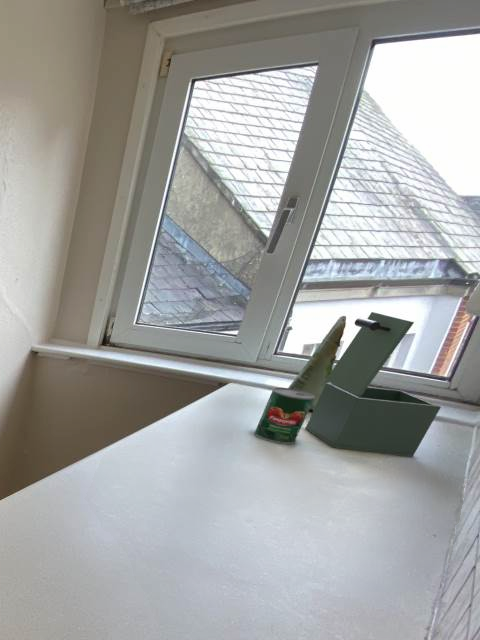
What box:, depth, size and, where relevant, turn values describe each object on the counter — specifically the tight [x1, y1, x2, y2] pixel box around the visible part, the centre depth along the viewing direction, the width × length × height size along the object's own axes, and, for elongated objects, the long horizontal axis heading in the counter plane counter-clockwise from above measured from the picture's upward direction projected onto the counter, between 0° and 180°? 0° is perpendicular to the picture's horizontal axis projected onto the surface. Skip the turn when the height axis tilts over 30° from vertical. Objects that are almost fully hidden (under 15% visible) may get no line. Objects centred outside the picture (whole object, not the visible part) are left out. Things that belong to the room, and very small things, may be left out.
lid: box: [326, 311, 415, 396], centre depth 121 cm, size 16×13×5 cm
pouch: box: [287, 315, 347, 411], centre depth 147 cm, size 11×12×25 cm
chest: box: [304, 382, 442, 458], centre depth 126 cm, size 16×13×12 cm
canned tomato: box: [253, 387, 315, 445], centre depth 126 cm, size 8×8×11 cm
